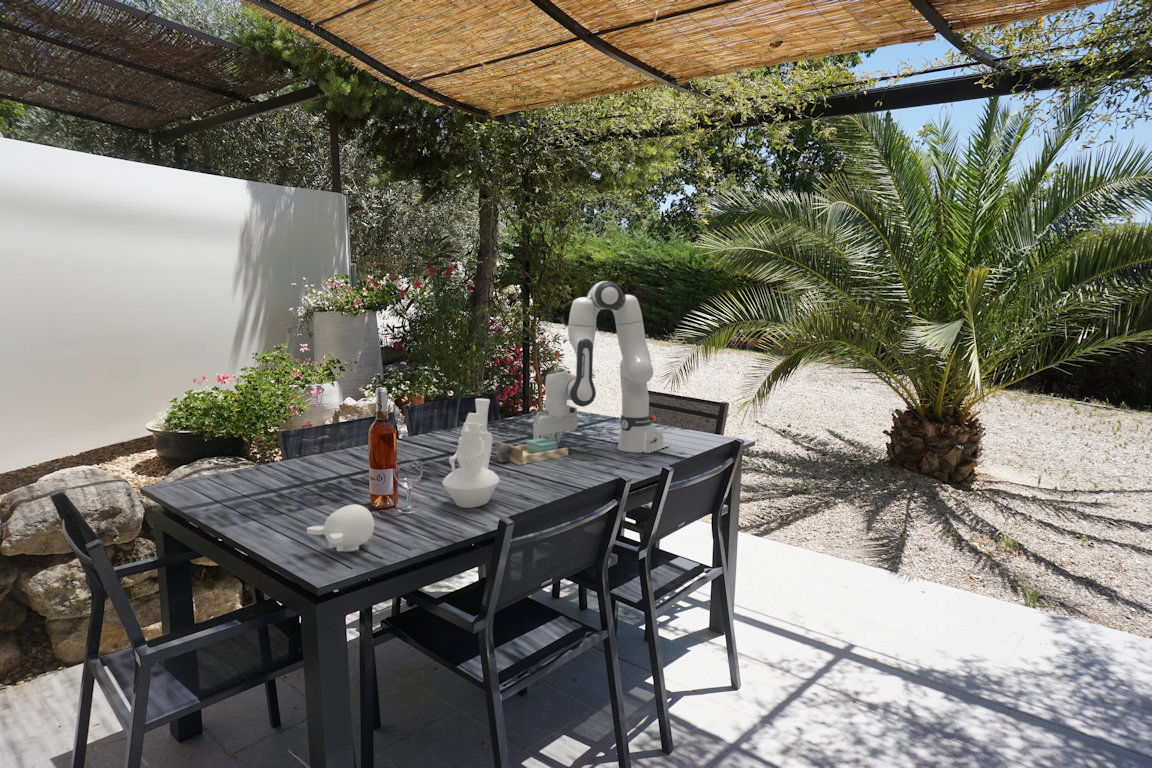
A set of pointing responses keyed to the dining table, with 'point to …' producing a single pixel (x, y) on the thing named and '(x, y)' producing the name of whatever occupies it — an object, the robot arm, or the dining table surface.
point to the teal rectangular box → (541, 445)
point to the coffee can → (540, 435)
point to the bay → (525, 454)
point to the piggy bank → (346, 528)
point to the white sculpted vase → (473, 461)
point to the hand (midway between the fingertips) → (555, 443)
